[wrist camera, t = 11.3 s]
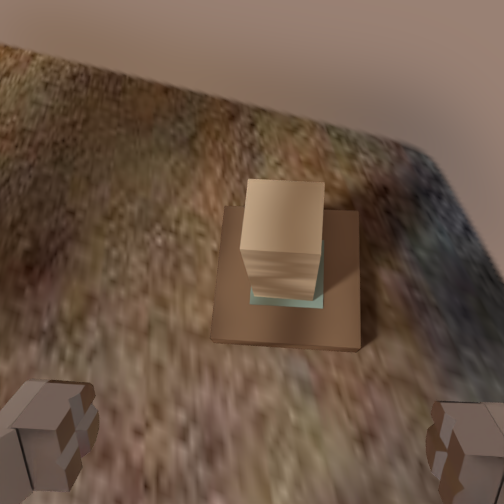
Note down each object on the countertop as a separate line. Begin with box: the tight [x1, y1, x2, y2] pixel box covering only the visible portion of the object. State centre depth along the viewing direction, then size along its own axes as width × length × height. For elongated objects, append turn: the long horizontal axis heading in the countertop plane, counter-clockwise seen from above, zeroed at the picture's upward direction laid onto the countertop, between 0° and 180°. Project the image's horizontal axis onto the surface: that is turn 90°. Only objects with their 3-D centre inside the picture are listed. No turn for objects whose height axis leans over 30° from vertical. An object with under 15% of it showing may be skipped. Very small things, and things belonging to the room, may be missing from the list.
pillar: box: [240, 179, 325, 301], centre depth 26 cm, size 4×4×9 cm
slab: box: [210, 206, 361, 353], centre depth 31 cm, size 10×10×3 cm
